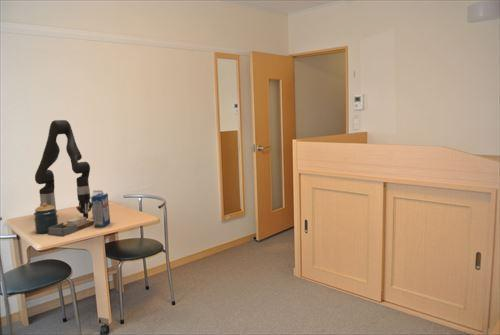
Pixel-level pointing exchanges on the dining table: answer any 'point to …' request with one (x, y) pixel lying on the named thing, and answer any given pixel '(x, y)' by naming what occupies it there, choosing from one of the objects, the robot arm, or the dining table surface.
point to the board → (82, 225)
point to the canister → (45, 218)
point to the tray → (61, 230)
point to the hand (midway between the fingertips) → (86, 218)
